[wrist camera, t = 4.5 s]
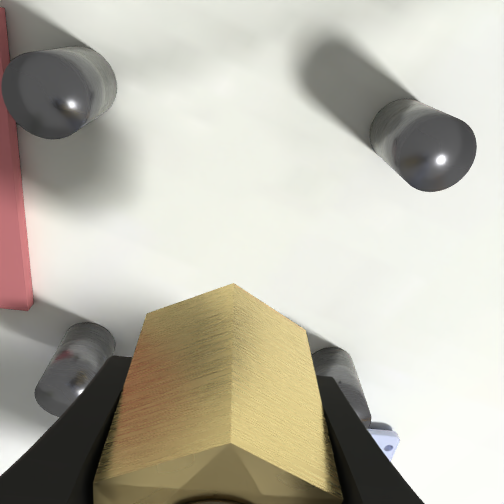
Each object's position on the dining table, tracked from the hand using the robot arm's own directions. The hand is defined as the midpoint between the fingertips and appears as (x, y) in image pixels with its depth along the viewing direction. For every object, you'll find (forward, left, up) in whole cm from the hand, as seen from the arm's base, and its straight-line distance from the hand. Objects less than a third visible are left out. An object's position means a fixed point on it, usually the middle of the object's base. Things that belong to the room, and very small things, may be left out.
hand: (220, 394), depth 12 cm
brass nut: (0, 0, -1) cm, 1 cm away
